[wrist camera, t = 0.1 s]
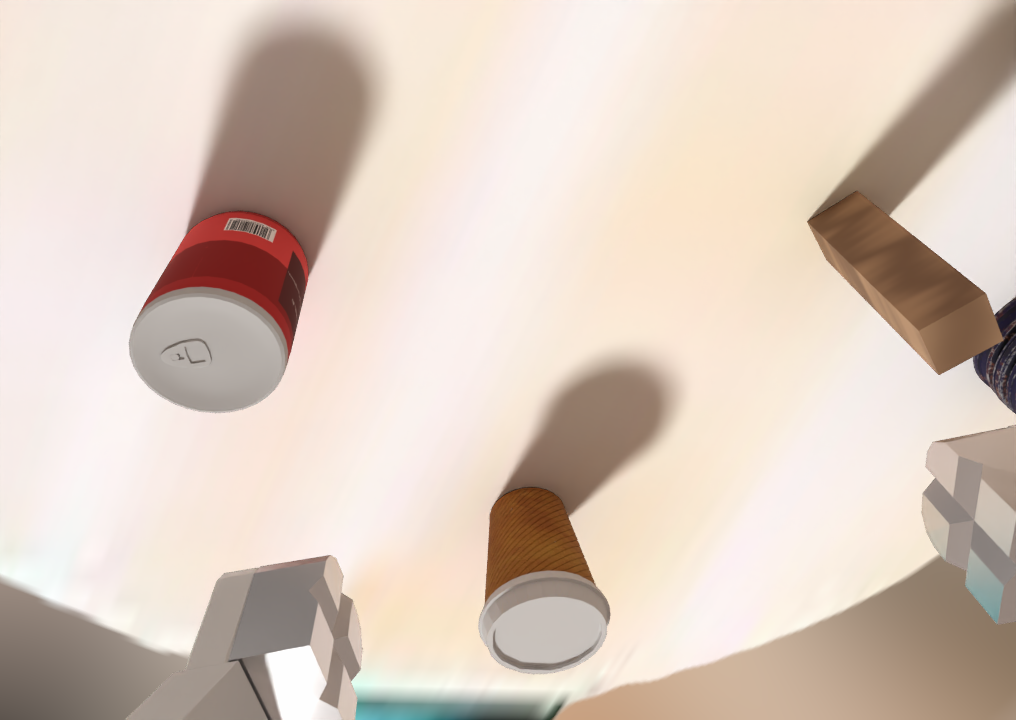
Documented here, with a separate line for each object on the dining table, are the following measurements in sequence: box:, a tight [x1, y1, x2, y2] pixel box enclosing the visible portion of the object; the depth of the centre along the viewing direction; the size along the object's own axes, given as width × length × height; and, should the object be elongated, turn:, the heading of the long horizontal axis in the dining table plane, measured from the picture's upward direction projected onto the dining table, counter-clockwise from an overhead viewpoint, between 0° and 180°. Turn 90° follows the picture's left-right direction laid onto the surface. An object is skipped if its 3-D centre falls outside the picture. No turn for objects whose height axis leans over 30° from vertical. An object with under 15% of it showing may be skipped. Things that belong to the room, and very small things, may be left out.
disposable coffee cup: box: [479, 487, 610, 674], centre depth 60 cm, size 10×10×12 cm
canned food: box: [129, 211, 308, 413], centre depth 45 cm, size 8×8×11 cm
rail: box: [807, 191, 1003, 375], centre depth 47 cm, size 4×4×14 cm
